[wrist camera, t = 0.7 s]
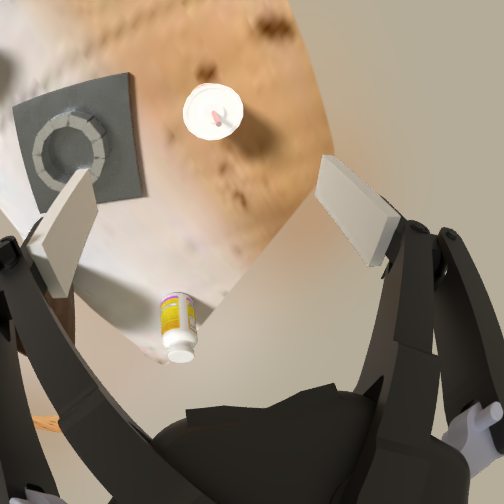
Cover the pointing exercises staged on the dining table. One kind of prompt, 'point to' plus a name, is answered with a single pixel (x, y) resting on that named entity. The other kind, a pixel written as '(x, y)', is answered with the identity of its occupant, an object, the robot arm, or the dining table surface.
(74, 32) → the dining table surface
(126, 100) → the sleeve block
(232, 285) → the dining table surface
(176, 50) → the dining table surface
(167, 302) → the supplement bottle
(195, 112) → the beverage cup
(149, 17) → the dining table surface
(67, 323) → the plant pot
